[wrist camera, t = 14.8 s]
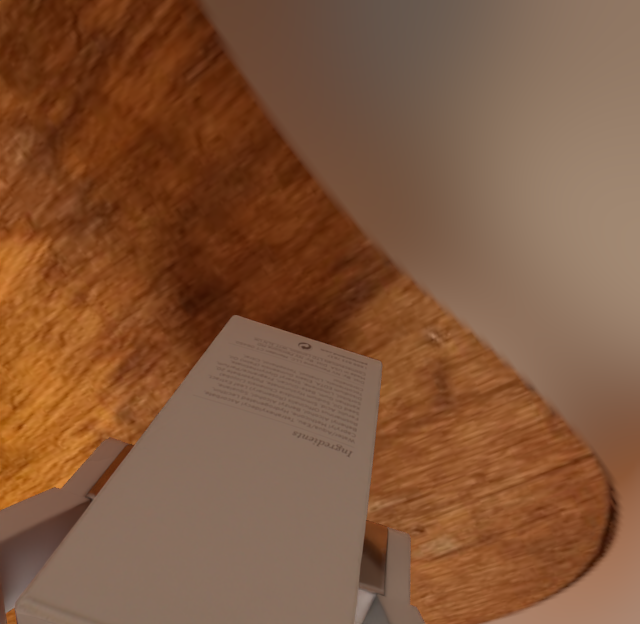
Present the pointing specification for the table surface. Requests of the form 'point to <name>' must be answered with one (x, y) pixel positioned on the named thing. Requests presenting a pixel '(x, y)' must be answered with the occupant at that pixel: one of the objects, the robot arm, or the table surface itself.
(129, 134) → the table surface
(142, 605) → the small box
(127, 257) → the table surface
